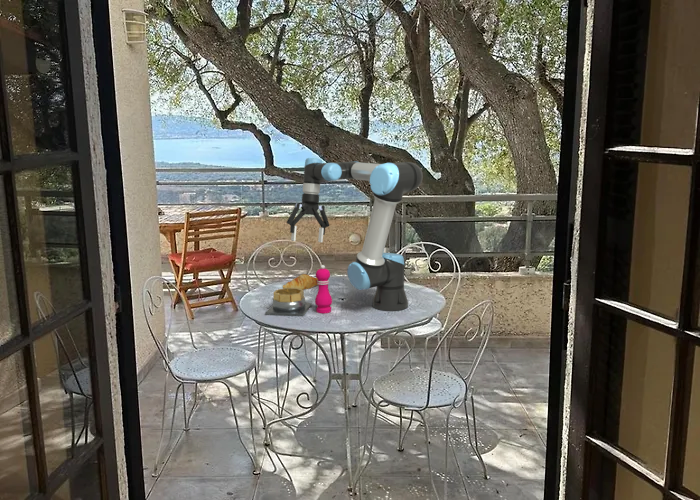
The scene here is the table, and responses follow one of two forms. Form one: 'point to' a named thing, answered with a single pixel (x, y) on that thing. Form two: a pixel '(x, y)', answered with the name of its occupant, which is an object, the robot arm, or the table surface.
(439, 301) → the table surface
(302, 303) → the silver and gold bowl
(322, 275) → the pepper mill
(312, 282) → the croissant
